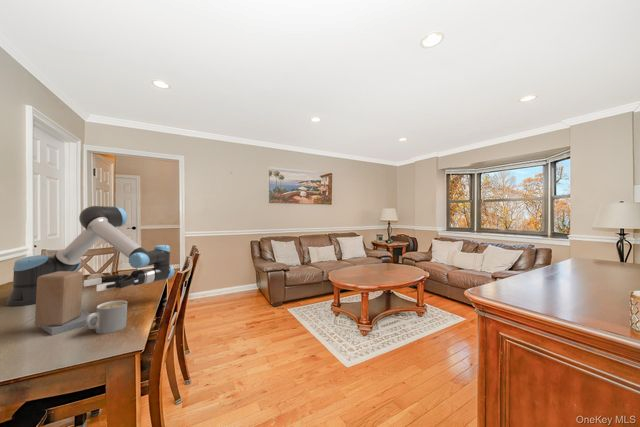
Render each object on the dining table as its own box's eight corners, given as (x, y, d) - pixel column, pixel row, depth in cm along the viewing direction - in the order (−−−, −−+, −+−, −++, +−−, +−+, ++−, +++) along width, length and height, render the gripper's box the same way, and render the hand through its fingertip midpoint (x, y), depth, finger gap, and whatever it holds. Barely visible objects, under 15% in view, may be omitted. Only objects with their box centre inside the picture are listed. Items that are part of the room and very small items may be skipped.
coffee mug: (123, 321, 112) (124, 298, 112) (128, 328, 105) (129, 304, 105) (82, 331, 101) (83, 306, 102) (85, 339, 95) (86, 313, 95)
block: (62, 326, 100) (64, 276, 100) (33, 327, 98) (35, 276, 98) (81, 316, 109) (84, 270, 110) (55, 316, 108) (58, 270, 108)
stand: (39, 326, 104) (39, 320, 104) (83, 315, 116) (83, 310, 116) (51, 335, 97) (52, 328, 97) (97, 322, 109) (97, 316, 109)
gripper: (155, 287, 125) (102, 299, 106) (129, 280, 137) (78, 289, 118) (155, 272, 125) (102, 281, 106) (130, 266, 137) (79, 273, 118)
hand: (89, 285), depth 112 cm, fingers open, 13 cm apart
